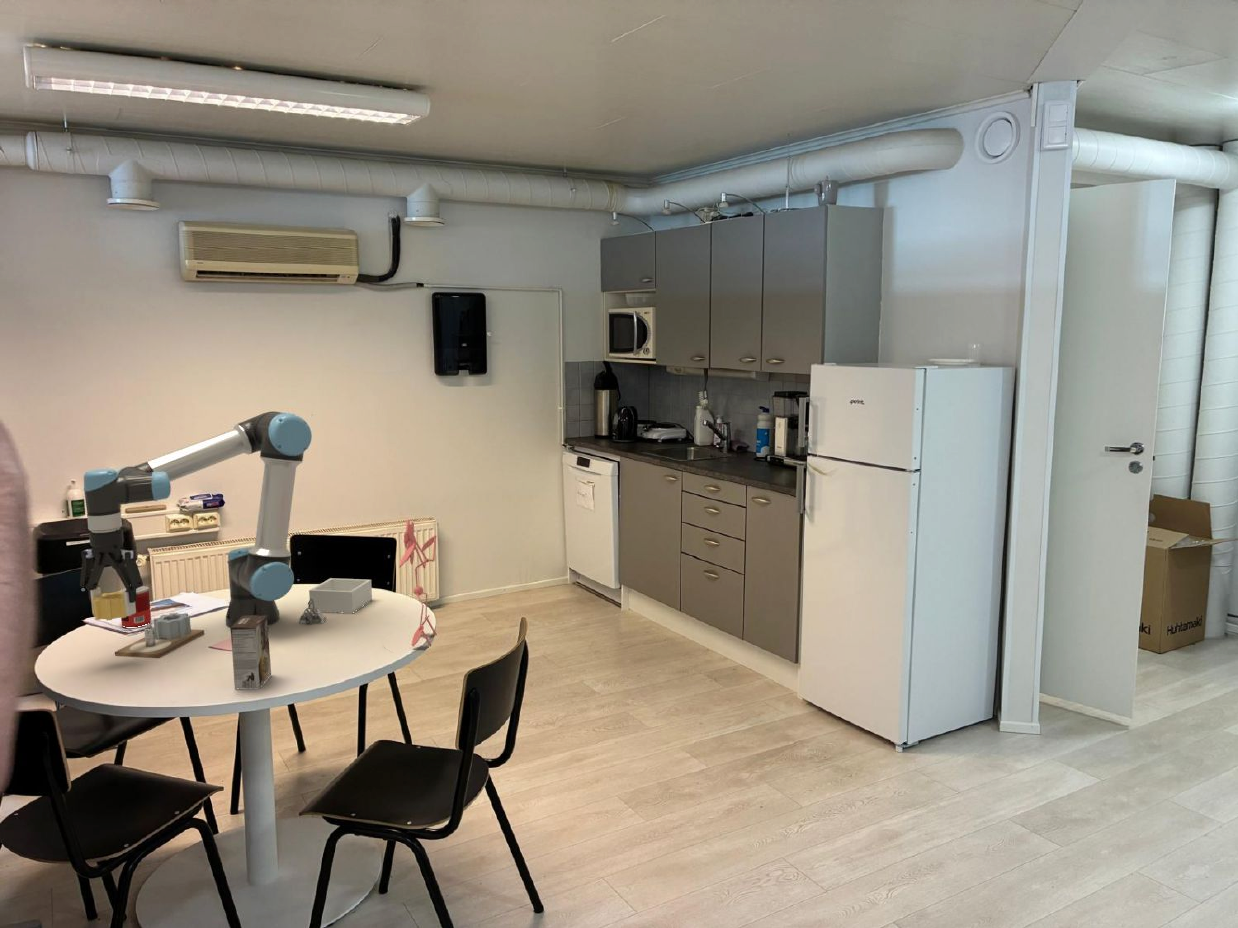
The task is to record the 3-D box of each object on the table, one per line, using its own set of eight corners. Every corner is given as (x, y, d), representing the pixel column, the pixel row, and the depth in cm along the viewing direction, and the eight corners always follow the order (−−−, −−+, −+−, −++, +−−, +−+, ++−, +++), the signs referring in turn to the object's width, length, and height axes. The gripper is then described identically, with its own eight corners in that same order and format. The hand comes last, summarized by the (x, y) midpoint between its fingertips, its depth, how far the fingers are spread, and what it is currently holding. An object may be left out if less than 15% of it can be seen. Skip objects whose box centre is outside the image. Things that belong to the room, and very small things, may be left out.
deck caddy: (372, 600, 286) (371, 579, 285) (352, 613, 272) (351, 592, 271) (331, 598, 288) (330, 578, 287) (310, 611, 274) (309, 590, 273)
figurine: (444, 625, 260) (440, 511, 256) (429, 656, 235) (424, 529, 230) (392, 626, 260) (387, 511, 255) (371, 657, 234) (366, 530, 229)
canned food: (157, 620, 266) (154, 586, 264) (140, 629, 258) (137, 593, 257) (133, 620, 267) (130, 585, 265) (115, 628, 259) (112, 592, 257)
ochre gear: (141, 609, 231) (139, 591, 231) (117, 620, 223) (116, 601, 222) (111, 608, 233) (109, 590, 232) (86, 619, 224) (84, 600, 223)
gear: (197, 629, 254) (195, 609, 253) (177, 640, 245) (175, 619, 244) (169, 628, 255) (167, 608, 254) (148, 638, 246) (146, 617, 245)
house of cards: (285, 629, 259) (284, 604, 258) (298, 620, 267) (297, 595, 266) (314, 630, 258) (313, 605, 257) (327, 620, 267) (325, 596, 266)
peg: (157, 644, 242) (155, 622, 241) (151, 647, 239) (150, 625, 238) (149, 644, 242) (147, 622, 241) (143, 647, 240) (142, 625, 239)
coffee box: (246, 676, 222) (242, 615, 219) (272, 675, 222) (268, 614, 220) (233, 690, 213) (229, 626, 210) (260, 689, 213) (256, 626, 211)
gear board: (204, 633, 254) (204, 629, 254) (158, 658, 234) (158, 653, 234) (163, 631, 256) (163, 627, 256) (115, 656, 236) (114, 651, 236)
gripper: (153, 526, 226) (161, 610, 230) (78, 525, 230) (87, 607, 233) (133, 533, 219) (142, 619, 222) (56, 531, 222) (66, 616, 226)
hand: (114, 613), depth 228 cm, fingers closed on ochre gear, 9 cm apart
